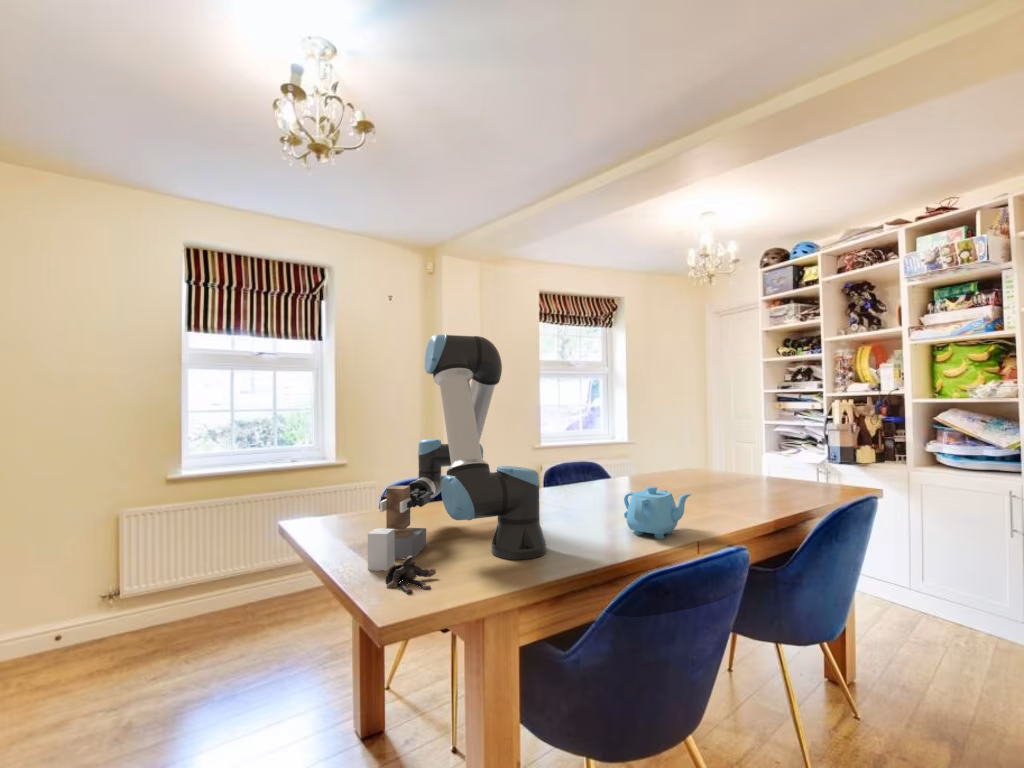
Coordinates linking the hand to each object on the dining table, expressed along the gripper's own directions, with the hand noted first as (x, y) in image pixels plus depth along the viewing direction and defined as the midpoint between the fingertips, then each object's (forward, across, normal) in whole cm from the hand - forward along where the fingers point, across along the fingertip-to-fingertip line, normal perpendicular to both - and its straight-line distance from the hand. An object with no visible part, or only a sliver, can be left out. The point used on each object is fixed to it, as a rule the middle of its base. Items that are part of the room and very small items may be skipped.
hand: (391, 507), depth 133 cm
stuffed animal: (+16, -12, -14) cm, 24 cm away
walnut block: (-5, 0, -6) cm, 8 cm away
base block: (-5, 0, -13) cm, 14 cm away
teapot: (-32, -74, -14) cm, 81 cm away
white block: (+8, -1, -13) cm, 15 cm away
